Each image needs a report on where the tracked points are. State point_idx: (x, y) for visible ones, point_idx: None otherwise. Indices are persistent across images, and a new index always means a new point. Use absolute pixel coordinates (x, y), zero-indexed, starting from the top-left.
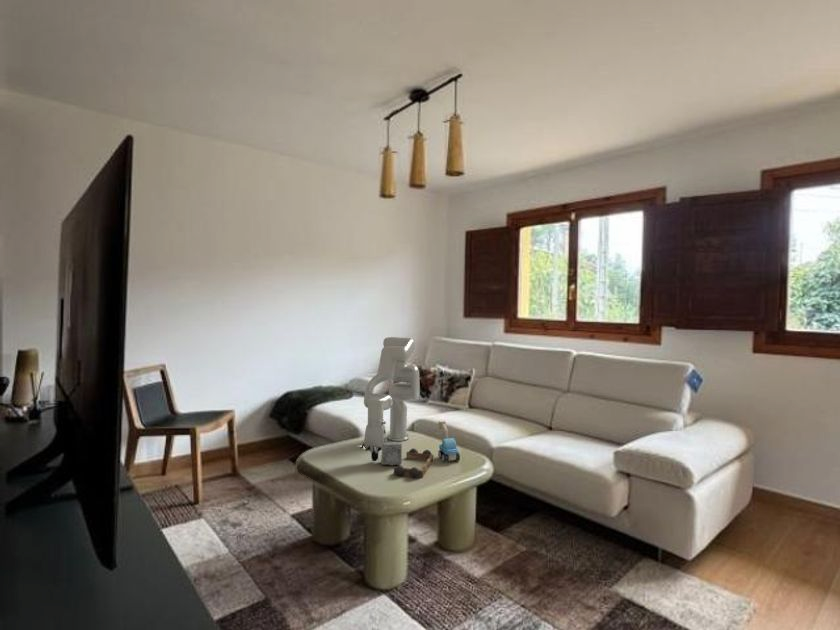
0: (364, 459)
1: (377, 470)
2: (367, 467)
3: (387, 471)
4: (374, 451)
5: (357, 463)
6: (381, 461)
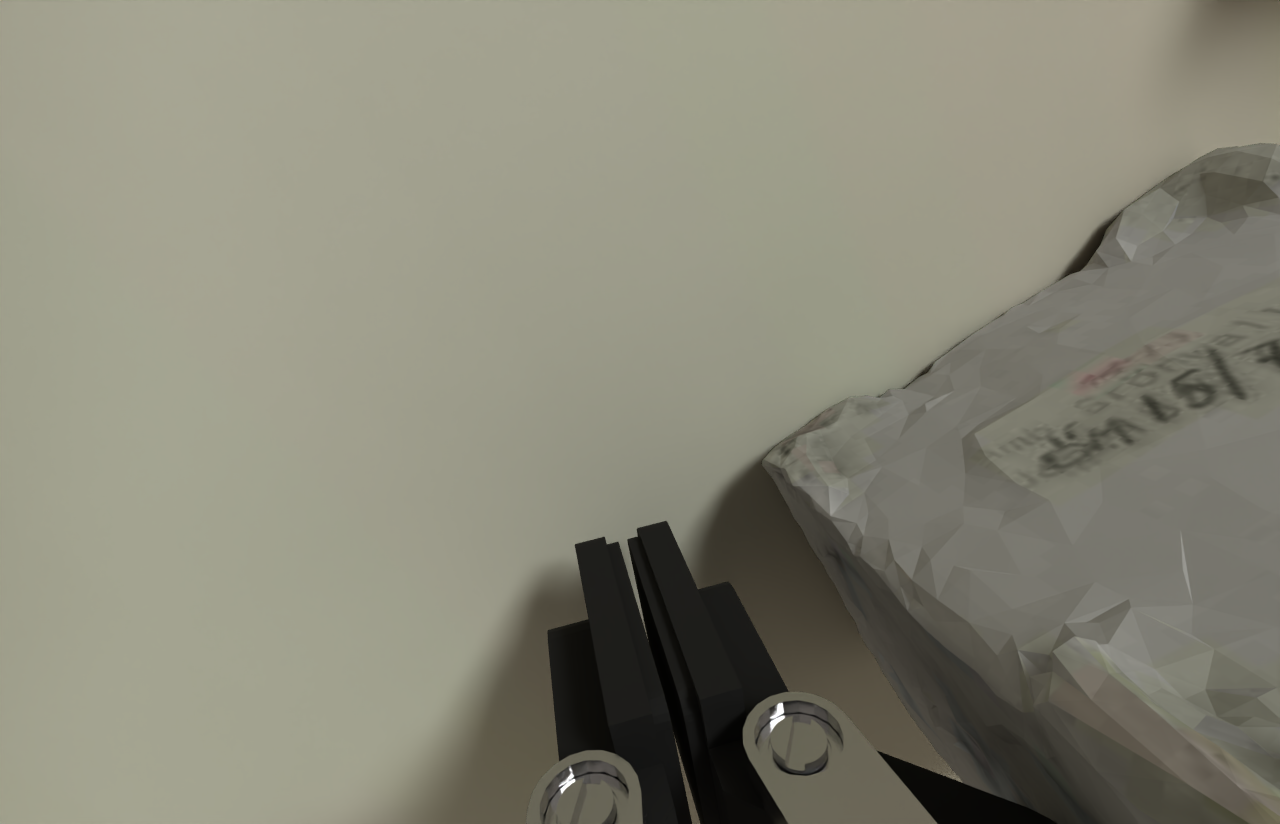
0: (234, 536)
1: None
2: None
3: None
4: (674, 817)
5: (293, 798)
6: (900, 694)
